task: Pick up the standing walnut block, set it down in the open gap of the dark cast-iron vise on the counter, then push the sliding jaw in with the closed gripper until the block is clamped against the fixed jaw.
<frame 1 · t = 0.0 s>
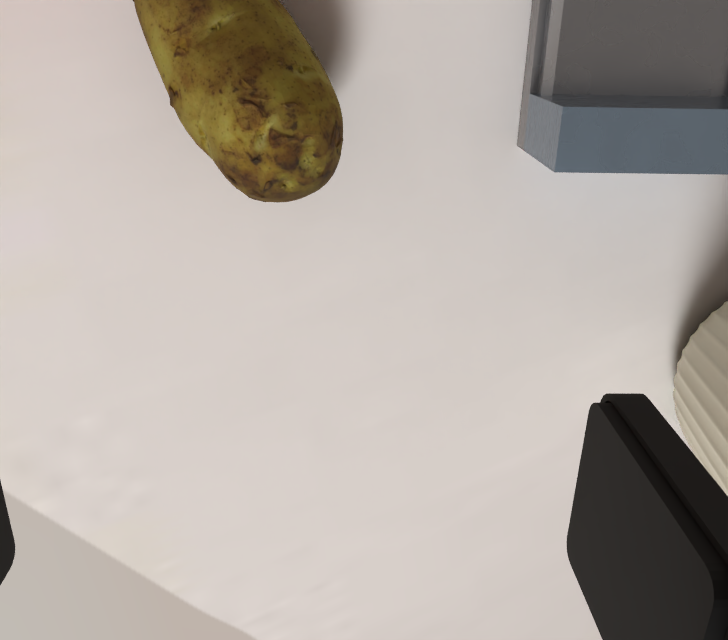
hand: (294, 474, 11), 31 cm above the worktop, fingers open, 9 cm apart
potato: (252, 66, 38), on the worktop
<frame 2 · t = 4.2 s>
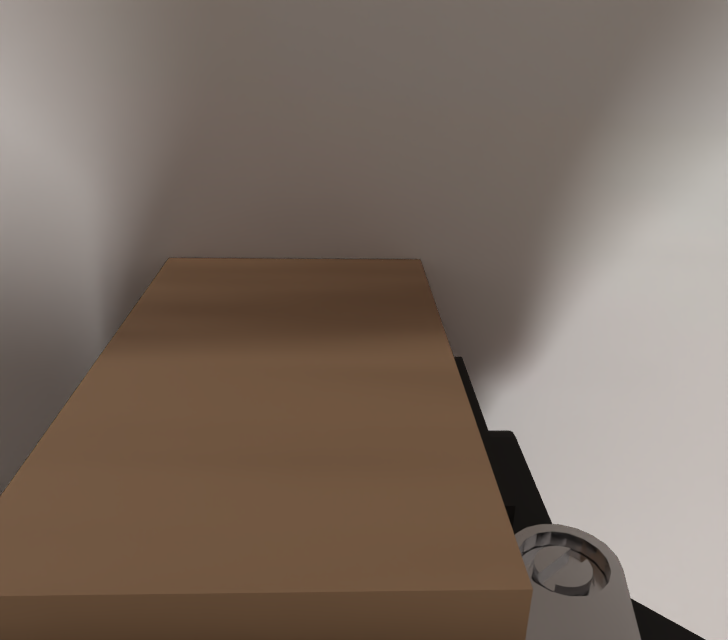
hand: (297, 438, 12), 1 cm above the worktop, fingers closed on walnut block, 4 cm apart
walnut block: (299, 420, 12), on the worktop, touching gripper
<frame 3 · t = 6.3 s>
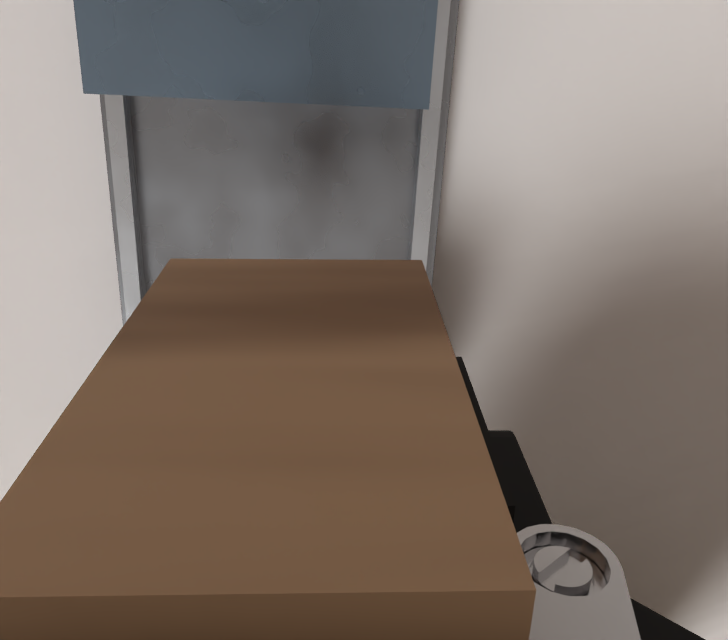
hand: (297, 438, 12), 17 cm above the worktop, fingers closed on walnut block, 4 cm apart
vise bed: (279, 212, 27), on the worktop
walnut block: (300, 420, 12), point 16 cm above the worktop, touching gripper
when the fingers open (3 cm above the worktop, at t = 8.4 s): walnut block stays where it is, resting on vise bed.
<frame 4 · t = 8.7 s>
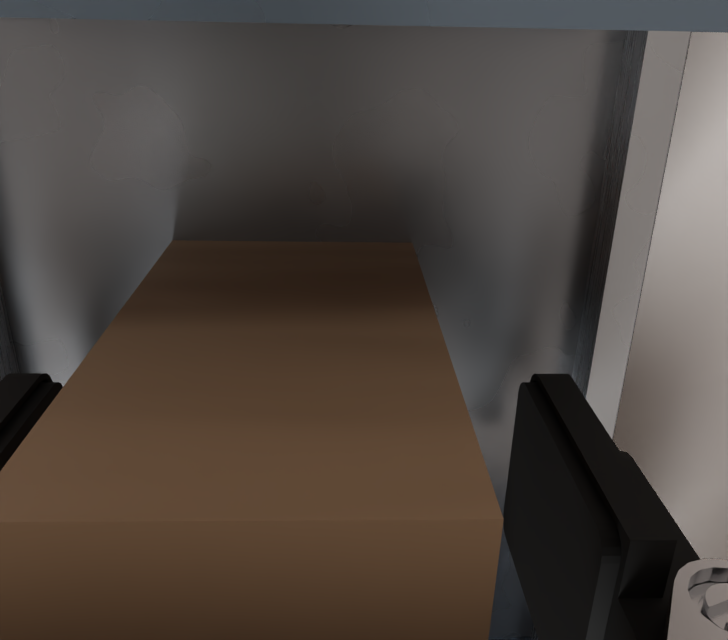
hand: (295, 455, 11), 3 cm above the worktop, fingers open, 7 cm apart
vise bed: (303, 297, 14), on the worktop
walnut block: (296, 397, 13), point 1 cm above the worktop, touching vise bed
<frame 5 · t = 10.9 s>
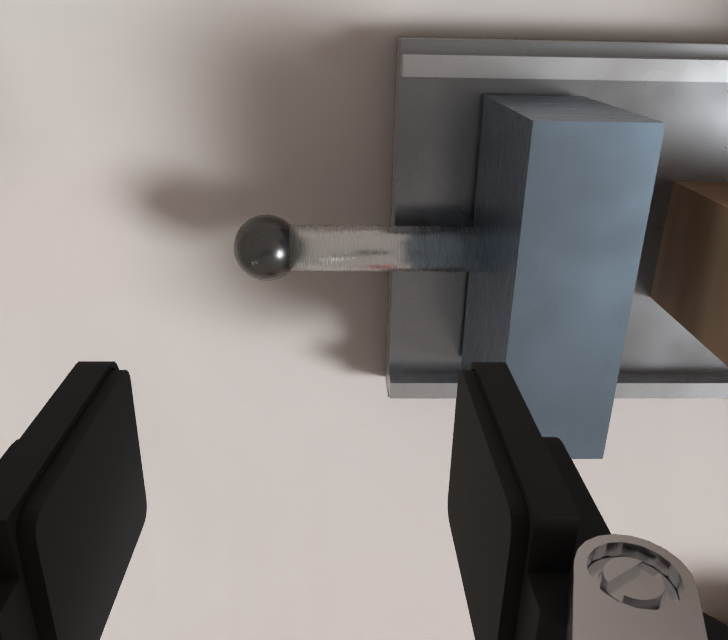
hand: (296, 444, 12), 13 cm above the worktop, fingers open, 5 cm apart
sliding jaw: (410, 268, 20), point 5 cm above the worktop, slide at 0.0 cm
vise bed: (688, 226, 24), on the worktop
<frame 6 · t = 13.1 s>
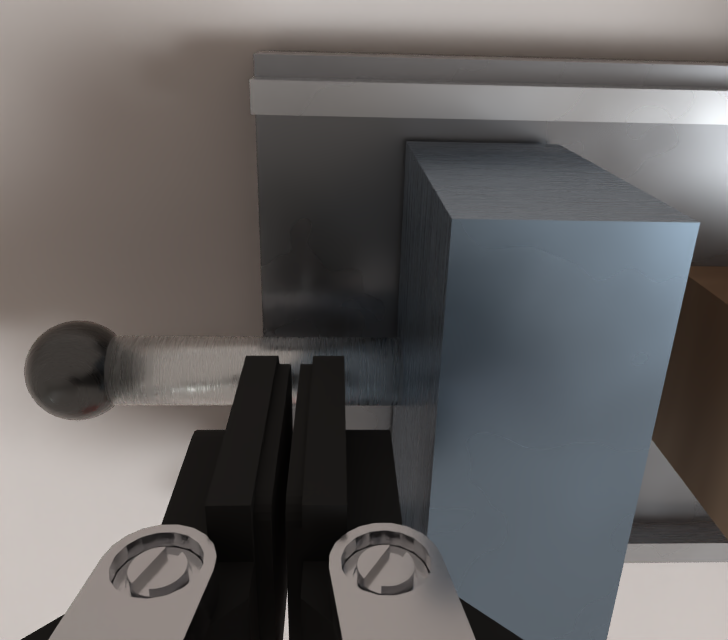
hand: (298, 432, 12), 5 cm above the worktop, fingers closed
sliding jaw: (284, 418, 12), point 5 cm above the worktop, slide at 0.4 cm, touching gripper
vise bed: (694, 320, 17), on the worktop
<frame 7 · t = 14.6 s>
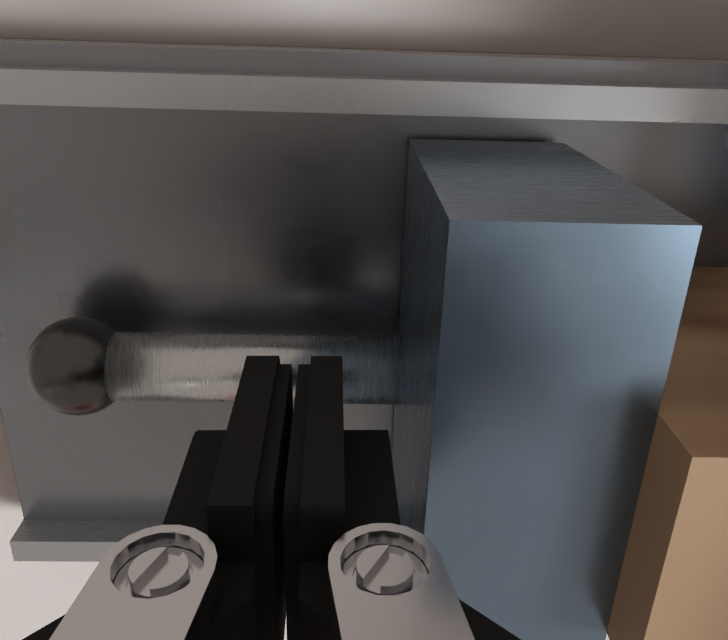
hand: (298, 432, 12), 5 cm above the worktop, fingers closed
sliding jaw: (283, 417, 12), point 5 cm above the worktop, slide at 6.5 cm, touching gripper, walnut block
vise bed: (454, 316, 17), on the worktop
walnut block: (661, 350, 16), point 1 cm above the worktop, touching sliding jaw, vise bed
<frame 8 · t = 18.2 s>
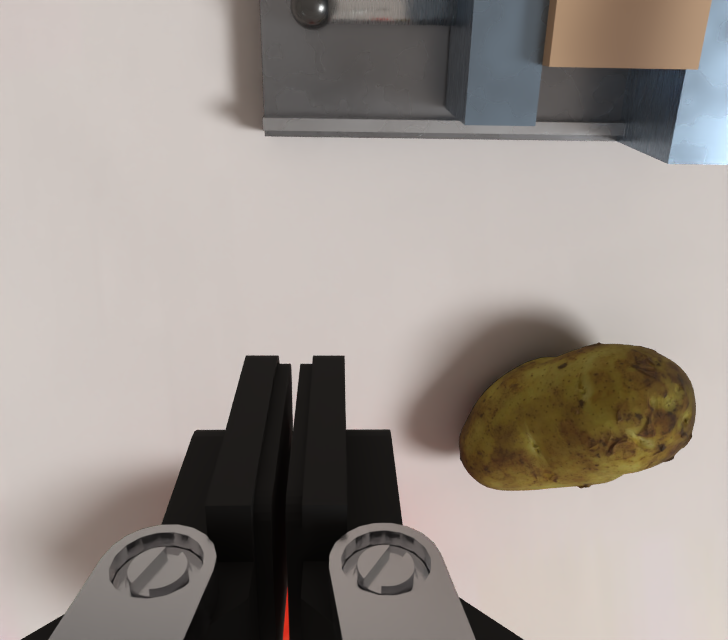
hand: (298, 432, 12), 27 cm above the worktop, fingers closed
sliding jaw: (409, 7, 30), point 5 cm above the worktop, slide at 6.5 cm, touching walnut block
vise bed: (476, 10, 34), on the worktop
walnut block: (575, 13, 33), point 1 cm above the worktop, touching sliding jaw, vise bed
potato: (548, 385, 43), on the worktop
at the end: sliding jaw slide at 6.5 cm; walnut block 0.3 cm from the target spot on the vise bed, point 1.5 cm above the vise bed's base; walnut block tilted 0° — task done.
